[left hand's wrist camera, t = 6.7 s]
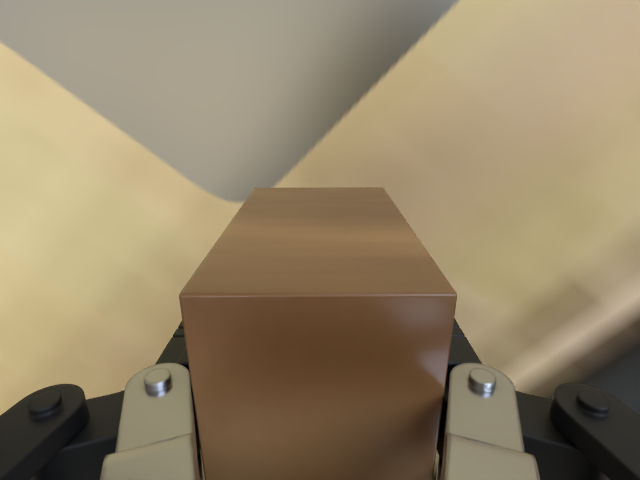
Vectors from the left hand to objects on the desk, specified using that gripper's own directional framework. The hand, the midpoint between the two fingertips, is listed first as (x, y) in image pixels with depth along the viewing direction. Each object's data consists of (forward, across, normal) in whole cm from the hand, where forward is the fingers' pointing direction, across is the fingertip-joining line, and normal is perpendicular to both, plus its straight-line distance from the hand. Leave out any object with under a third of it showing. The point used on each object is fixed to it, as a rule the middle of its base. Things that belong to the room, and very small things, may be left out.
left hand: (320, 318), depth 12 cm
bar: (+4, 0, -9) cm, 10 cm away
